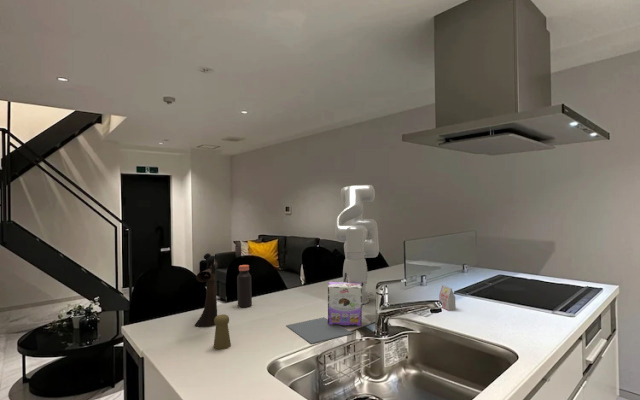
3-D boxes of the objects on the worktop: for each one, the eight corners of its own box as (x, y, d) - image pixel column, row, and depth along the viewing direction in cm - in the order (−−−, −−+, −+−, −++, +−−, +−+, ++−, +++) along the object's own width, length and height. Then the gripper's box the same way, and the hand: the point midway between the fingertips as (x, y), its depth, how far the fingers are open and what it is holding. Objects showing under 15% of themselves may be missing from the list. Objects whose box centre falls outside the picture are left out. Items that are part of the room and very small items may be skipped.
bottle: (239, 308, 170) (238, 267, 170) (236, 305, 176) (235, 265, 176) (253, 306, 173) (252, 266, 174) (249, 303, 179) (248, 264, 180)
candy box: (361, 319, 148) (362, 282, 145) (361, 326, 142) (362, 287, 140) (328, 318, 149) (328, 280, 147) (327, 324, 143) (327, 286, 141)
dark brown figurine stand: (214, 336, 135) (212, 258, 135) (187, 339, 133) (186, 259, 133) (221, 312, 166) (220, 248, 166) (200, 313, 164) (198, 249, 164)
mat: (323, 318, 153) (323, 317, 153) (352, 333, 134) (352, 332, 134) (286, 326, 144) (286, 325, 144) (311, 344, 125) (311, 343, 125)
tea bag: (446, 306, 166) (445, 284, 166) (455, 310, 160) (455, 288, 160) (439, 306, 165) (439, 285, 165) (448, 311, 159) (448, 288, 159)
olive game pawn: (215, 343, 128) (214, 313, 129) (232, 342, 129) (231, 312, 129) (211, 350, 122) (211, 318, 123) (229, 349, 123) (228, 317, 123)
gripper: (364, 253, 156) (365, 294, 155) (335, 256, 148) (336, 300, 148) (374, 255, 149) (375, 298, 149) (345, 258, 142) (346, 304, 141)
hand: (356, 299), depth 148 cm, fingers closed
